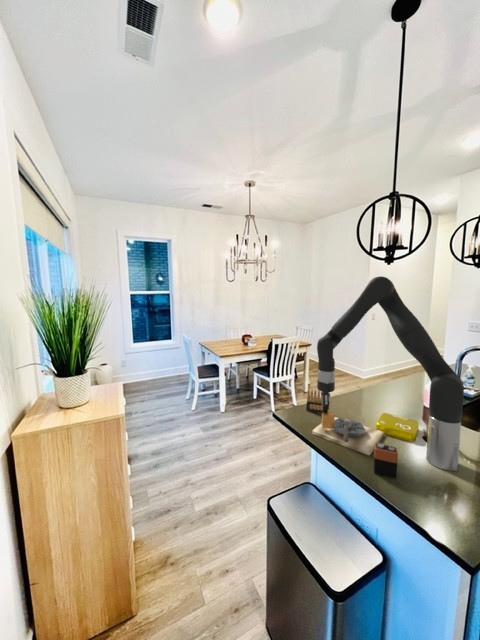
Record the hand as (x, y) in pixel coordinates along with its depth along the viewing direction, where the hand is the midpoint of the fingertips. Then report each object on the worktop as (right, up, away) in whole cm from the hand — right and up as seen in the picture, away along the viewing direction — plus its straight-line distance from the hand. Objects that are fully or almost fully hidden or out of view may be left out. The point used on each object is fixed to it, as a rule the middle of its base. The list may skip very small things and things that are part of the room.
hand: (325, 416), depth 122 cm
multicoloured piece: (+6, -3, -5) cm, 8 cm away
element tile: (+33, -7, -1) cm, 33 cm away
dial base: (+8, -6, -5) cm, 12 cm away
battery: (+11, -9, -30) cm, 33 cm away
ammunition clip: (+2, -5, +19) cm, 20 cm away
